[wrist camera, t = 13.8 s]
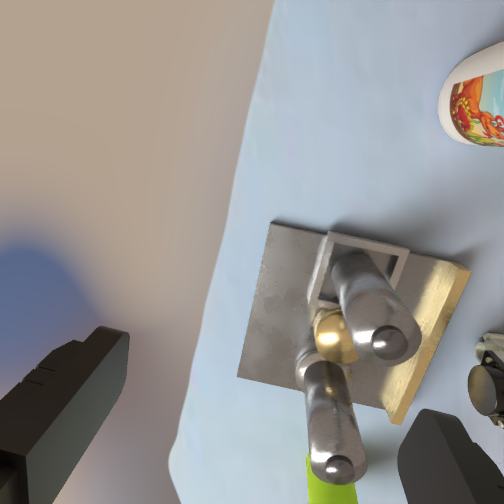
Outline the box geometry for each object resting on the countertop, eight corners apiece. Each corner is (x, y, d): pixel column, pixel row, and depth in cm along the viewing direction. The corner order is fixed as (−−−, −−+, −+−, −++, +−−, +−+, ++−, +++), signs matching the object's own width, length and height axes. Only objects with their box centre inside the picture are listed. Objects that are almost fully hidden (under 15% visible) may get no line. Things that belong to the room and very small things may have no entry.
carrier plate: (271, 216, 35) (264, 264, 22) (459, 256, 34) (563, 327, 22) (237, 372, 42) (217, 476, 29) (393, 406, 42) (442, 527, 29)
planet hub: (338, 248, 35) (367, 309, 23) (383, 258, 34) (437, 324, 22) (325, 289, 36) (347, 366, 24) (369, 298, 36) (412, 380, 24)
